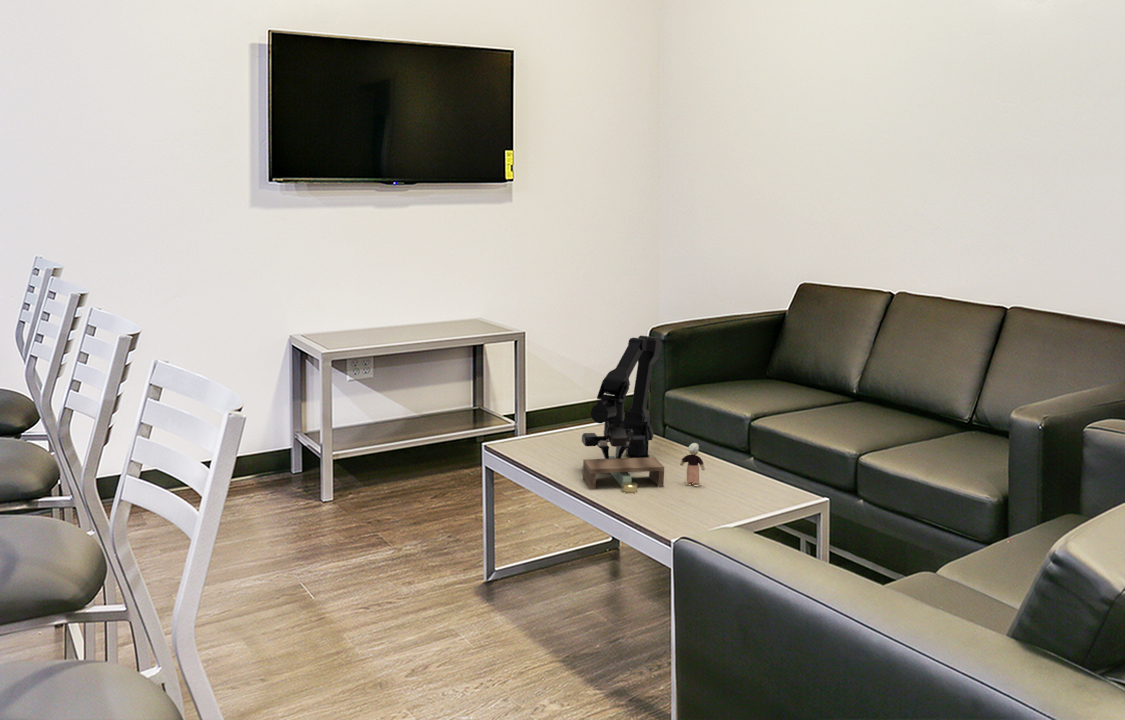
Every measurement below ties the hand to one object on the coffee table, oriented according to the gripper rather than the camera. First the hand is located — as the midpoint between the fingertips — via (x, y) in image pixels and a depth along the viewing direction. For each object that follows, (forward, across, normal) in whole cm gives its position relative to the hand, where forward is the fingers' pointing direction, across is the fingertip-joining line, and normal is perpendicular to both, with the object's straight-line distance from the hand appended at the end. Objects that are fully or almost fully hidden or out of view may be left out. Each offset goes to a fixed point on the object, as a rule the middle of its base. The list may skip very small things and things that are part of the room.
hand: (612, 466), depth 292 cm
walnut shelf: (+1, 0, -13) cm, 13 cm away
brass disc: (+1, 0, -21) cm, 21 cm away
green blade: (+1, 0, -7) cm, 8 cm away
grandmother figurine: (+1, +20, -17) cm, 26 cm away
